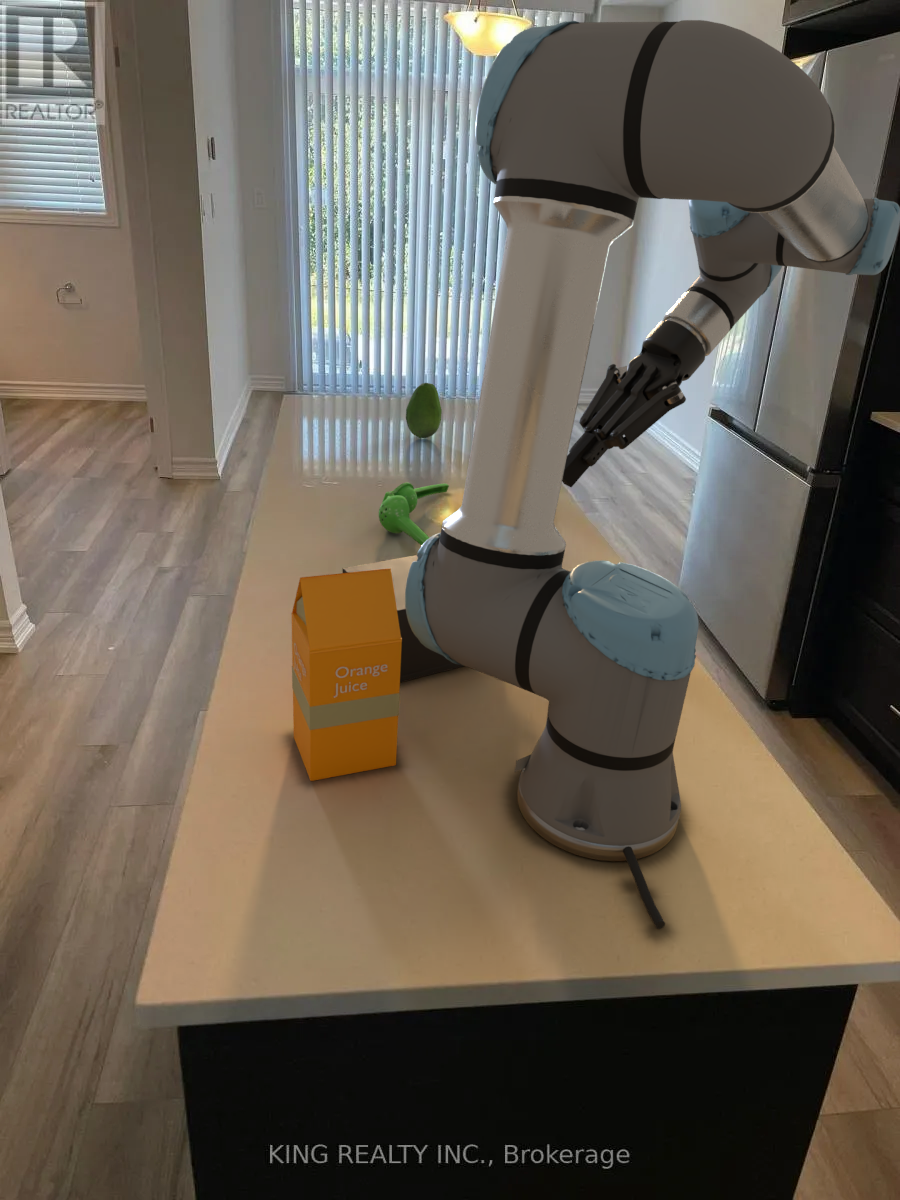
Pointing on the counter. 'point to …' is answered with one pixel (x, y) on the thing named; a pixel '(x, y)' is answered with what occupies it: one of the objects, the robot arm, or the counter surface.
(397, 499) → the lime squeezer
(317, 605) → the orange juice
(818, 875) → the counter surface
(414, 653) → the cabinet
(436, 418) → the avocado
